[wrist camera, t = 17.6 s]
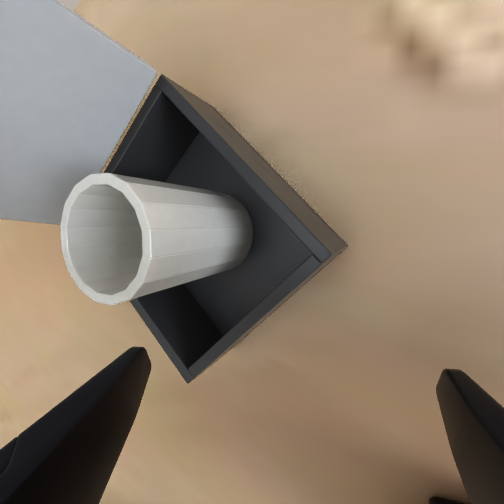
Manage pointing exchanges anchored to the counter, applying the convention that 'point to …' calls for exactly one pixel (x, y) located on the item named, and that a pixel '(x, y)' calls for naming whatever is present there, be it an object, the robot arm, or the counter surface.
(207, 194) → the white cup
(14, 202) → the grey flat rectangular panel
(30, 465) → the robot arm
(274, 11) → the counter surface
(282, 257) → the dark grey open box
